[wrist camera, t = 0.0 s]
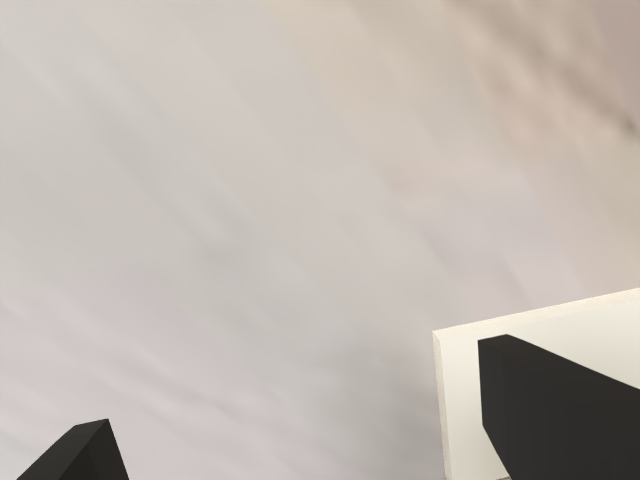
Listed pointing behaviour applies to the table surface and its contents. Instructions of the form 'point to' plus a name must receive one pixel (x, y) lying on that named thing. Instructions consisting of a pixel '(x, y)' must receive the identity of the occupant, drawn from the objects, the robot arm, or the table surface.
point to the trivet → (541, 330)
